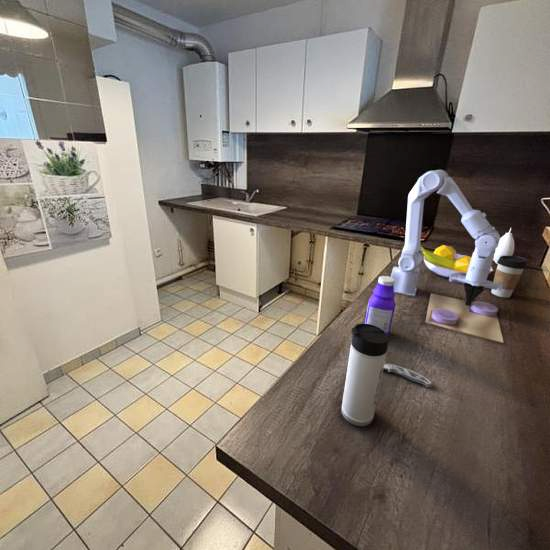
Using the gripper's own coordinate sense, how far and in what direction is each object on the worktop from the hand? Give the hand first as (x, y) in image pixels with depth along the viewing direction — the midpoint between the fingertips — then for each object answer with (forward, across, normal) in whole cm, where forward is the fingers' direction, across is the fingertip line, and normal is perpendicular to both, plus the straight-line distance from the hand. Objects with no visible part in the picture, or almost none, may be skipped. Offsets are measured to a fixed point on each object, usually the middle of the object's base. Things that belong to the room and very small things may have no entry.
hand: (467, 304), depth 100 cm
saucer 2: (+1, +5, 0) cm, 5 cm away
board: (+2, -2, -6) cm, 7 cm away
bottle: (+2, -24, -32) cm, 39 cm away
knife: (+2, -16, -47) cm, 50 cm away
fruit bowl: (+2, -6, +34) cm, 34 cm away
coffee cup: (+2, +12, +20) cm, 23 cm away
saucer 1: (+1, -7, -13) cm, 15 cm away
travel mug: (+2, -20, -64) cm, 67 cm away
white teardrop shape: (-7, +15, +61) cm, 63 cm away
